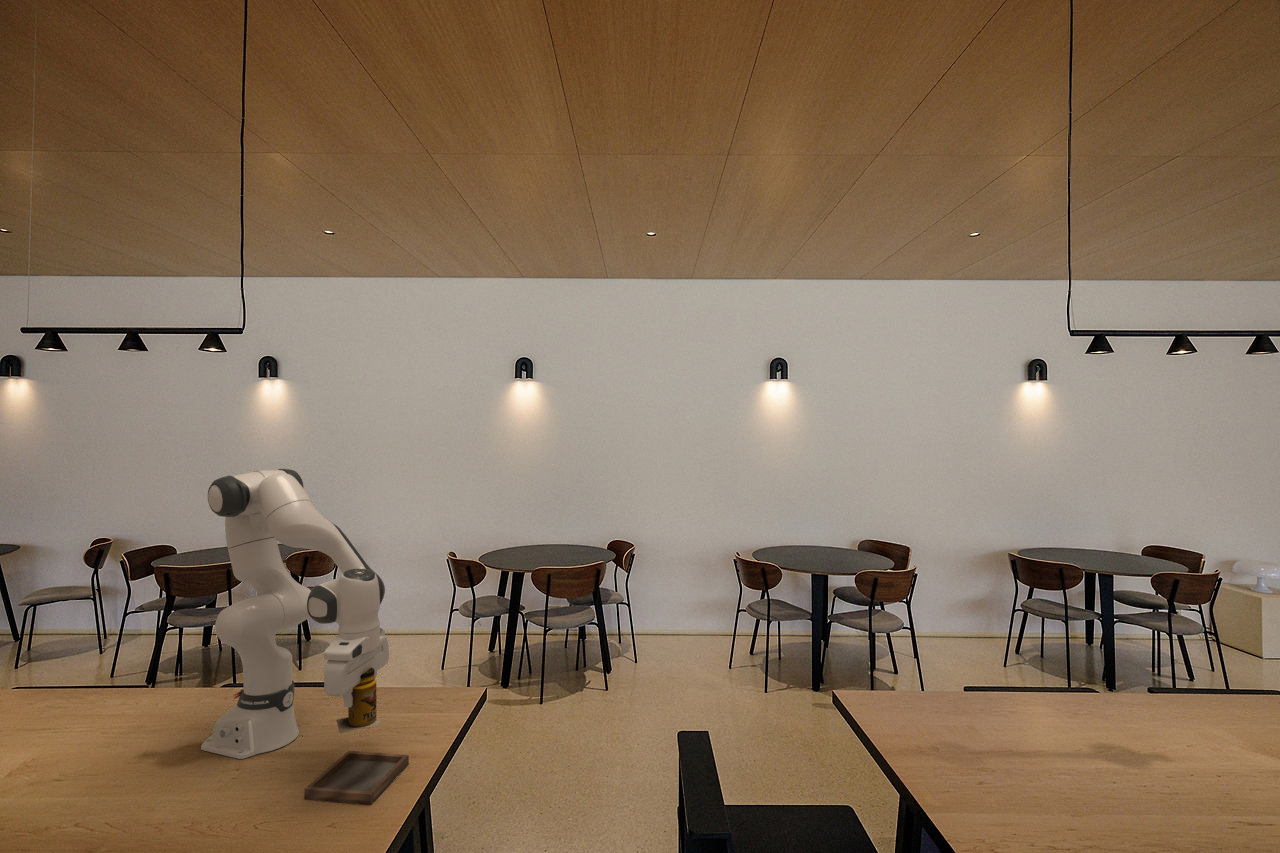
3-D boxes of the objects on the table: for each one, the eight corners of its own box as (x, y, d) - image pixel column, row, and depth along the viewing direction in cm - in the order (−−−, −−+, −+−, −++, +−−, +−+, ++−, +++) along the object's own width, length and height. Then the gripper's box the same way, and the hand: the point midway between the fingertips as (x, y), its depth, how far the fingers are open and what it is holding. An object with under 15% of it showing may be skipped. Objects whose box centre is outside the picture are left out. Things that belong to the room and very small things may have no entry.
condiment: (380, 724, 138) (380, 672, 138) (340, 734, 134) (339, 680, 134) (375, 711, 144) (375, 662, 144) (336, 721, 140) (336, 670, 140)
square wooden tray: (304, 799, 132) (304, 789, 132) (348, 759, 148) (348, 750, 148) (371, 805, 130) (371, 794, 130) (408, 764, 146) (408, 755, 146)
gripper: (372, 624, 150) (372, 679, 150) (318, 655, 130) (318, 718, 130) (395, 625, 149) (395, 680, 149) (345, 656, 129) (345, 720, 129)
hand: (359, 698), depth 139 cm, fingers closed on condiment, 6 cm apart
